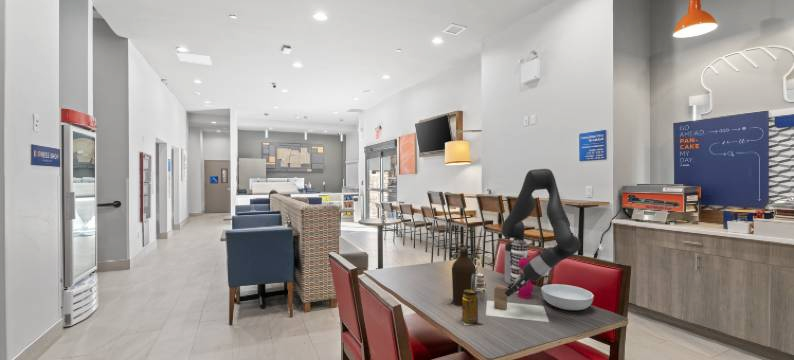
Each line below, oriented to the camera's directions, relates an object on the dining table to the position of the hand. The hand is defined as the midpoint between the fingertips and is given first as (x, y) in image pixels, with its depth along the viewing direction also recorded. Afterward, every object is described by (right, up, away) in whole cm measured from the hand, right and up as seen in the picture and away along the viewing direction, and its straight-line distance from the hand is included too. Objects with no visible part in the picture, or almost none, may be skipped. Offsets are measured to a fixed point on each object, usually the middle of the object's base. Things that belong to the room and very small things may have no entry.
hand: (507, 291), depth 154 cm
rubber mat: (+3, -8, -1) cm, 8 cm away
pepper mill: (+13, -8, +17) cm, 23 cm away
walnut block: (-3, -7, +1) cm, 8 cm away
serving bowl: (+27, -8, +5) cm, 29 cm away
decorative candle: (+14, -8, +27) cm, 31 cm away
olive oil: (-18, -8, +8) cm, 21 cm away
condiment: (-18, -8, -12) cm, 23 cm away
